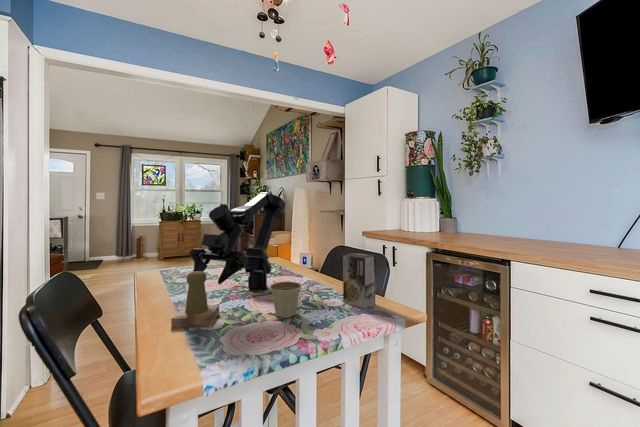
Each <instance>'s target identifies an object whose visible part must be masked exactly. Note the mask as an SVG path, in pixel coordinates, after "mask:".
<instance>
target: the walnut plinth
mask: <svg viewBox="0 0 640 427" xmlns="http://www.w3.org/2000/svg"><path fill="white" fill-rule="evenodd" d="M185 309H186V304H185V305H184V306H182V307H181V309H180V310H178V311H177V312H176V313H175V314H174V315H173V316H172V317H171V320H170V321H171V322H170V323H171V324H170V326H171V327H170V328H173V329H175V328H199V327H201V328H203V327H205V328H206V327H211V326H212V325H213V323H214V322H215V320H216V319H217V317H218V315H219V314H220V304H208V310H207V311H206V312H203V313H199V314H187V313H186V312H185Z"/></svg>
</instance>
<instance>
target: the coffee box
mask: <svg viewBox="0 0 640 427" xmlns="http://www.w3.org/2000/svg"><path fill="white" fill-rule="evenodd" d="M342 262H343V263H342V269H343V270H342V276H343V277H342V283H343V284H342V285H343V286H342V288H343V290H342V295H343V298H342V300H343V301H342V302H343V303H345V304H347V305H352V306H355V307H359V308H362V309H367V308H369V307H371V306H374V305H376V255H374V254H365V253H358V252H351V253H348V254H343V255H342Z"/></svg>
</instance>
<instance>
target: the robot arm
mask: <svg viewBox="0 0 640 427" xmlns="http://www.w3.org/2000/svg"><path fill="white" fill-rule="evenodd" d="M285 208H286V201H285V200H284V199H283V198H281V197H280V196H277V195H275V194H273V193H272V192H269V191H267V192H266V191H265V192H264V191H261V192H259V193H258V194H257V195H256V196H255V197H253V198H252V199H251V200H250V201H249V202H246V204H244V205H241V206H238V207H237V206H236V207H235V208H232V209H231V210H230V209H229V206H228V205H227V204H226V203H220V205H218V206H217V207H214V208H213V209H212V210H210V211H209V214H208V217H209V219H210V221H211V222H212V223H213V224H214V225H215V227H216V228H217V230H219V231H221V232H220V233H219V234H215V233H214V234H211V233H210V234H208V233H204V234H203V236H202V240H201V243H200V244H201V245H202V246H205V247H207V250H208V251H209V252H211V253H209V252H207V251H206V250H205V249H204V248H198V247H197V248H196V247H194V248H192V249H191V250H190V251H189V253H188V256H189V257H190V258H191V259H192V261H193V264H194V265H193V271H192V272H194V271H203V272H204V271H205V270H206V269H207V268H208V266H209V265H208V264H210V262H211V261H216V262H217V261H218V262H225V265H224V267H223V270H222V271H221V273H220V275H219V278H218V281H217V284H218V285H221V284H223V283H224V282H225V281H227V279H230V278H231V276H233V275H234V274H236V273H238V272H239V271H242V270H243V269H244V271H245V273H248V274H249V275H248V277H247V279H248V280H247V281H248V282H247V286H248V287H247V288H248V291H267V289H268V285H269V284H268V274H270V273H271V272H272V265H271V264H270V262H269V254H268V252H267V250H268V249H267V248H268V247H269V243H270V240H271V238H272V237H271V236H272V233H273V230H274V228H275V224H276V221H277V219H278V218H279V217H281V216H282V214H283V213H284V210H285ZM261 210H263V213H264V217H263V220H262V222H261V225H260V227H259V230H258V233H257V237H256V240H255V242H254V245H253V247H248V248H247V249H246V252H245V253H244V252H243V251H241V250H237V249H238V247H237V244H238V241H239V240H240V238H245V237H246V233H245V232H244V229H243V228H242V227H241V226H243V227H249V226H251V224H252V222H253V221H254V219H255V215H256V214H257V213H258V212H260V211H261Z"/></svg>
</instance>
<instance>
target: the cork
mask: <svg viewBox="0 0 640 427" xmlns="http://www.w3.org/2000/svg"><path fill="white" fill-rule="evenodd" d="M193 271H194V270H193ZM193 271H190V272H189V273H187V275H186V282H187V284H188V287H187V294H186V303H185V305H186V309H185V312H186V313H187V314H199V313H203V312H206V311H207V310H208V305H209V304H208V299H207V291H206V286H205V283H206V281H207V273H205V272H204V271H194V272H193Z"/></svg>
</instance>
